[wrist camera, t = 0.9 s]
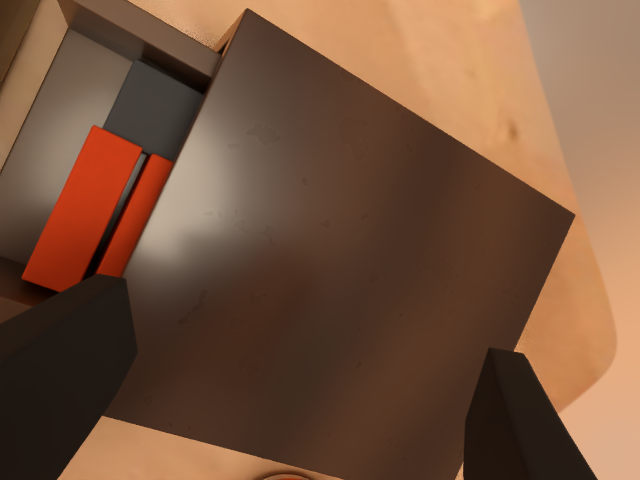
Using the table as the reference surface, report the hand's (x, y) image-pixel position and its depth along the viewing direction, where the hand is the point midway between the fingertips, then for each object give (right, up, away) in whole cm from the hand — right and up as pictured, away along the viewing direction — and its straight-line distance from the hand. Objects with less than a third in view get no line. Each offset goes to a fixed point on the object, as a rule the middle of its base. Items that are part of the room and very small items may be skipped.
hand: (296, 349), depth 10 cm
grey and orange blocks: (-7, +4, +9) cm, 12 cm away
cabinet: (-1, +1, +14) cm, 15 cm away
